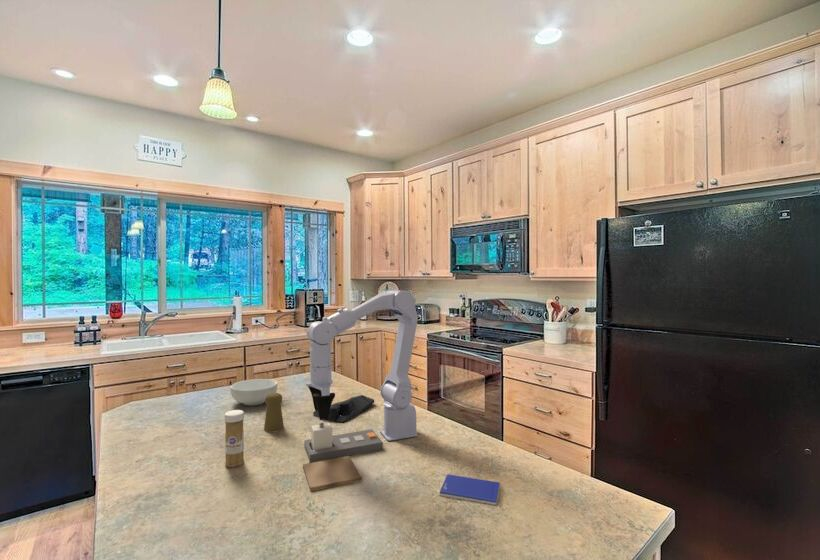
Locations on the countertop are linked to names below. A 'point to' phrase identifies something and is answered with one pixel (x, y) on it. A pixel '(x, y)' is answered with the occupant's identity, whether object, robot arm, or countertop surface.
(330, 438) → the block
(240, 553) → the countertop surface
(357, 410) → the dark slate chunk
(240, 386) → the cereal bowl
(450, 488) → the hard drive
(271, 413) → the cork
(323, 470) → the coaster
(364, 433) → the power strip
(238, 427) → the sprinkles bottle
